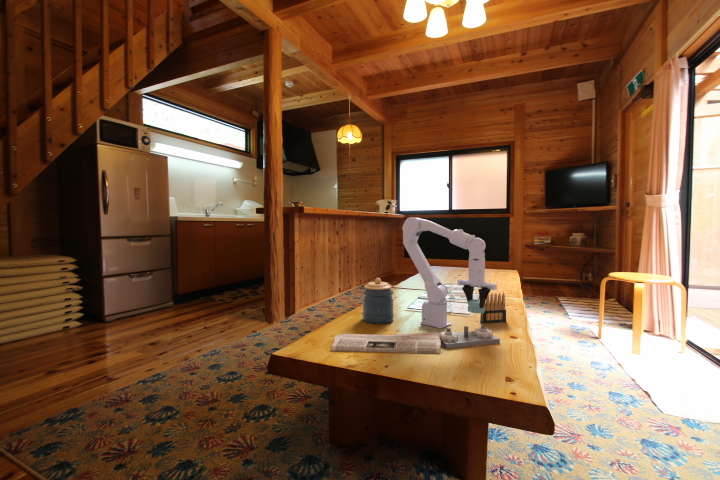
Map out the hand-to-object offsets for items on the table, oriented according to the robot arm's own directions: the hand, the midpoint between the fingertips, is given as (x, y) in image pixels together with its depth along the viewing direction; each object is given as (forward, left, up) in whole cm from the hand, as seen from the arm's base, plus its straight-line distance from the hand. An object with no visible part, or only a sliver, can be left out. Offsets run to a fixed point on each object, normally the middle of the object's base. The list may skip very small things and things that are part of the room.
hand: (476, 306), depth 123 cm
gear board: (+4, -14, -9) cm, 17 cm away
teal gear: (0, 0, -2) cm, 2 cm away
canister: (-34, -17, -9) cm, 40 cm away
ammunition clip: (+1, +14, -9) cm, 17 cm away
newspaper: (-13, -35, -10) cm, 39 cm away
